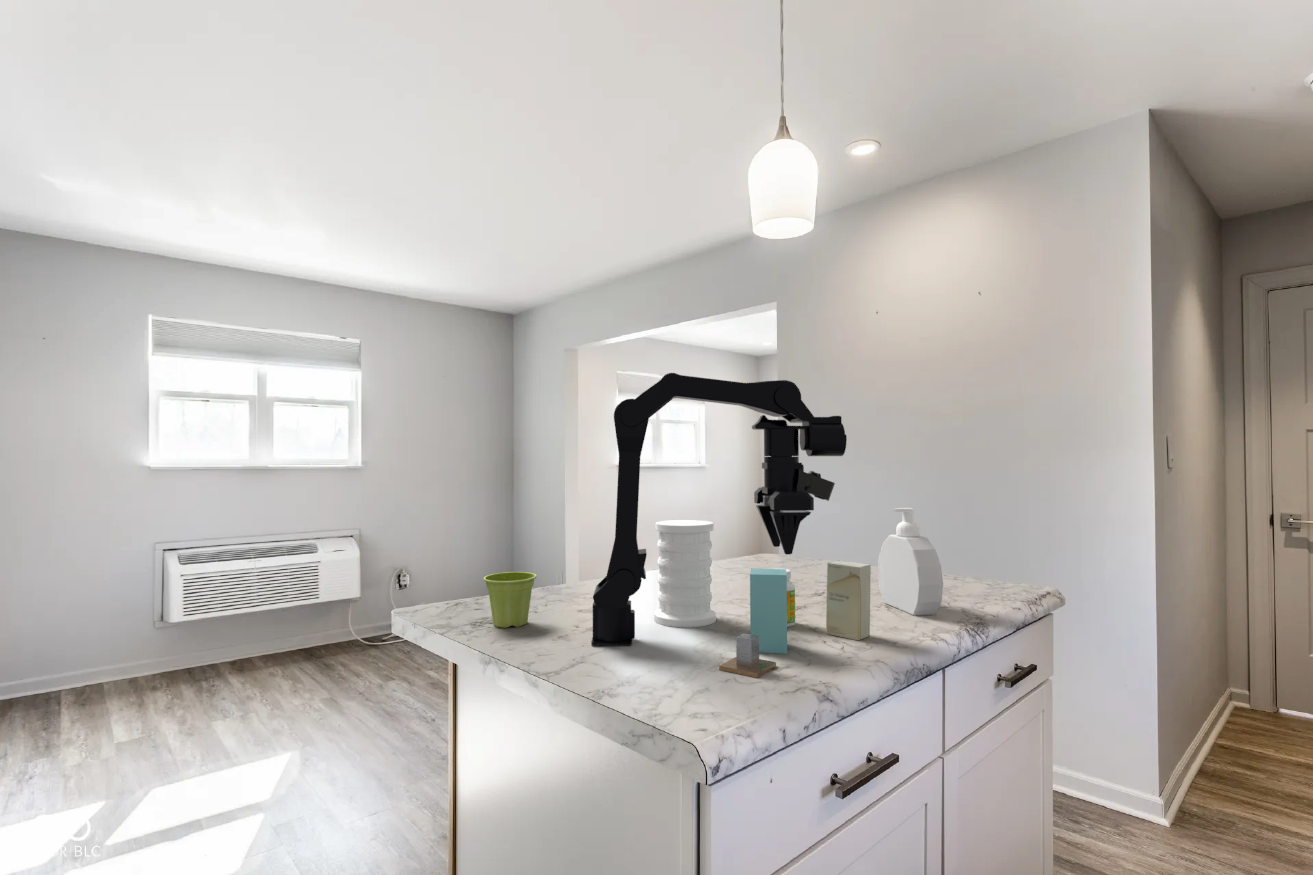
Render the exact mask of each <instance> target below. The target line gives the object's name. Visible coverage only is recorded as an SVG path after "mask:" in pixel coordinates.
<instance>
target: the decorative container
mask: <svg viewBox="0 0 1313 875" xmlns="http://www.w3.org/2000/svg"><path fill="white" fill-rule="evenodd" d="M714 527H715V526H714V522H712V521H709V520H698V519H697V520H695V519H674V520H673V519H671V520H661V521H657V522H655V531H657V532H658V534H659V536H658V540H657V543H656V544H657V549H658V550H659V551H658V554H659V556H658V558H657V561H656V562H657V565H658V569H659V574H658V575H657V584H659V586H658V589H659V591H658V592H657V593H658V594H657V600H658V602H659V603H658V604H659V606H658V609H656V610H655V611H654V612H653V620H654V622H655V623H656V624H659V625H661V626H666V627H671V628H672V627H673V628H698V627H700V628H701V627H705V626H709V625H712V624H714V623H715V622H716V621H717V612H716V611H715V610H713V609H712V608H711V601H712V599H713V594H712V592H711V584H712V580H713V577H712V574H711V567H712V563H713V561H712V557H711V549H712V543H713V542H712V541H711V532H712V531H714Z"/></svg>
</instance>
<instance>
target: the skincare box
mask: <svg viewBox="0 0 1313 875" xmlns="http://www.w3.org/2000/svg"><path fill="white" fill-rule="evenodd" d="M826 566H827V570H826V618H825V619H826V620H825V622H826V625H825V627H826V628H825V629H826V630H825V633H826V635H827V634H828V635H832V636H836V637H841V638H845V639H848V640H849V639H850V640H853V641H861V640H863V639H866V638H868V637H870V636H871V635H870V634H871V633H870V632H871V578H872V577H871V570H872V569H871V564H867V563H861V562H860V563H859V562H854V561H853V562H852V561H846V560H834V561H829V562H827V563H826Z"/></svg>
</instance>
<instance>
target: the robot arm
mask: <svg viewBox="0 0 1313 875" xmlns="http://www.w3.org/2000/svg"><path fill="white" fill-rule="evenodd" d="M801 393H802V392H801V391H800V388H799V387H798V386H797V384H796V383H794V381H790V380H788V379H786V380H785V379H783V380H780V379H779V380H765V381H756V382H742V381H741V382H739V381H732V380H724V379H716V378H706V377H699V376H690V375H681V374H678V373H675V372H668V373H666V374H665V375H663V376H662V378H661V379H660V380H659V381H658V382H656V383H654V384H653V385H652V386H649V388H647V389H646V390H645V391H643V392H641V394H639V395H638V396H637V397H636V398H627V399H625V400H622V401H621V402H619V404H617V406H616V407H615V409H614V412H613V422H614V431H615V436H616V438H615V439H616V445H617V452H618V465H617V466H618V470H617V487H616V488H617V489H616V493H617V494H616V512H615V513H616V514H615V531H614V532H615V534H614V536H615V537H614V542H613V545H612V546H613V547H612V549H611V550H612V551H611V555H610V558H609V563H608V566H607V572H606V576H605V577H604V578H603V579H601V580H600V582H599V583H598V584H597V585H596V587H595V589H594V593H593V596H592V599H593V603H592V638H591V641H590V644H591V646H631V645H632V643H633V640H634V639H635V638H636V634H635V633H636V629H635V628H636V627H635V626H636V624H635V623H636V622H635V621H636V618H635V614H636V611H635V609H632V600H630V597H631V596H634V595H635V594H636V593H637V592H638V591H639V590H640V588H641V585H642V579H643V580H646V578H647V575H646V568H645V565H646V559H647V553H648V552H647V548H641V549H640V548H639V544H638V538H637V537H638V536H637V533H638V517H639V515H638V514H639V496H640V495H639V494H640V491H639V490H640V476H641V474H640V471H641V455H642V451H643V447H644V441H645V438H646V434H647V427H648V424H649V421H650V418H651V417H652V416H654V415H655V414H657V412H659V411H660V410H661V409H662V408H663V407H665V406H666V405H667V404H668V403H670V402H671V401H672V400H673V399H682V400H688V401H689V400H691V401H699V402H707V403H714V404H715V403H716V404H724V405H729V406H730V405H731V406H739V407H743V408H746V409H749V410H752V411H754V412H756V413H760V414H763V415H761V416H759V418H758V420H757V421H756V422H755V423H754V424H753V425H751V429H752V430H756V431H757V430H759V431H762V430H763V459H764V460H763V462H761V469H763V471H764V472H763V478H764V479H763V483H764V484H763V485H764V486H760V487H758V488H757V489H756V490H755V491H754V497H753V498H754V500H753V501H754V503H755V504H757V505H756V509H757V511H758V513H759V515H760V518H761V520H762V523H763V525H764V527H765V529H766V532H767V534H768V537H769V540H770V541H771V544H772V546H773V547H774V548H776V547H777V548H779V547H780V545H781V547H782V550H783V553H784V555H792V554H793V551H794V547H795V544H796V539H797V534H798V533H799V532H798V531H799V528H800V524H801V522H802V521H803V520H805V518H807V517H808V516H811V514H812V511H814V510H815V508H814V506H815V504H814V503H815V502H814V499H815V498H817V499H819V500H823V501H824V500H825V501H828V502H829V501H830V498H831V496H832V493H833V490H834V487H835V484H836V483H835V481H834V482H833V481H830V480H829V479H825V478H822V475H821V473H817V472H815V471H814V470H809V471H808V472H805V468H804V464H803V462H799V461H800V457H799V455H800V452H799V450H801V451H805V453H806V455H807V457H843V456H844V455H845V452H846V448H847V434H846V432H845V431H846V430H845V427H844V424H843V423H842V416H841V415H830V416H814V414H813V413H812V412H811V411H810V409H809V408H808V407H807V405H806V404H805V402H804V401H803V400H802V394H801ZM767 416H771V417H775V418H780V417H782V418H783V419H769V418H768V417H767ZM787 422H789V423H791V424H801V425H788V423H787ZM799 446H800V447H799ZM813 496H814V497H813Z"/></svg>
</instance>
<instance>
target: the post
mask: <svg viewBox="0 0 1313 875" xmlns="http://www.w3.org/2000/svg"><path fill="white" fill-rule="evenodd" d="M735 640H736V641H735V642H736V643H735V644H736V649H735V650H736V651H735V652H736V655H735V657H733V658H731V659H729V660H727V661H725V662H723V663H721V664H720V665H718V668H719V669H718V670H719V671H724V672H729V673H734V674H737V675H742V676H747V677H753V678H759V677H761V676H762V675H765V674H766V673H768V672H769V671H771V670H773V669H774V668H776V667H777V662H776V661H772V660H766V659H761V658H760V652H759V636H757V635H751V634H750V633H745V632H744V633H741V634H740V635H738V636H736V637H735Z"/></svg>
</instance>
